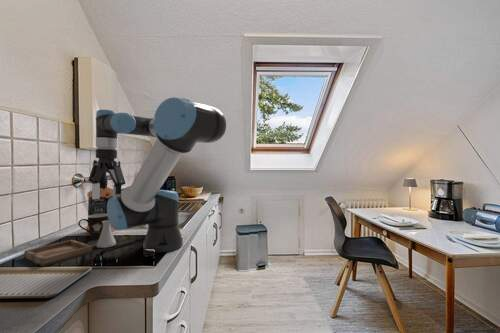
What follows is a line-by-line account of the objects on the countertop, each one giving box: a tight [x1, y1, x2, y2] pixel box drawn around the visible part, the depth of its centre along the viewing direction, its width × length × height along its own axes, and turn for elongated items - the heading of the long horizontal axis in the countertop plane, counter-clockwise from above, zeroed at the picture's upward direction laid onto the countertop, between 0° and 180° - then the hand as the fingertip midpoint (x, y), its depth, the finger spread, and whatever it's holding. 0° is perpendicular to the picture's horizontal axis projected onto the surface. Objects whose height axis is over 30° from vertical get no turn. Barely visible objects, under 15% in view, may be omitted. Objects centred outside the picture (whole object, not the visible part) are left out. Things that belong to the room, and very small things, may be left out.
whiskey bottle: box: [85, 172, 117, 236], centre depth 121 cm, size 10×10×32 cm
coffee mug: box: [77, 213, 109, 241], centre depth 112 cm, size 12×9×10 cm
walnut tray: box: [23, 239, 93, 268], centre depth 91 cm, size 15×15×2 cm
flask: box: [96, 220, 117, 249], centre depth 102 cm, size 7×7×10 cm
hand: (106, 200), depth 101 cm, fingers open, 13 cm apart
